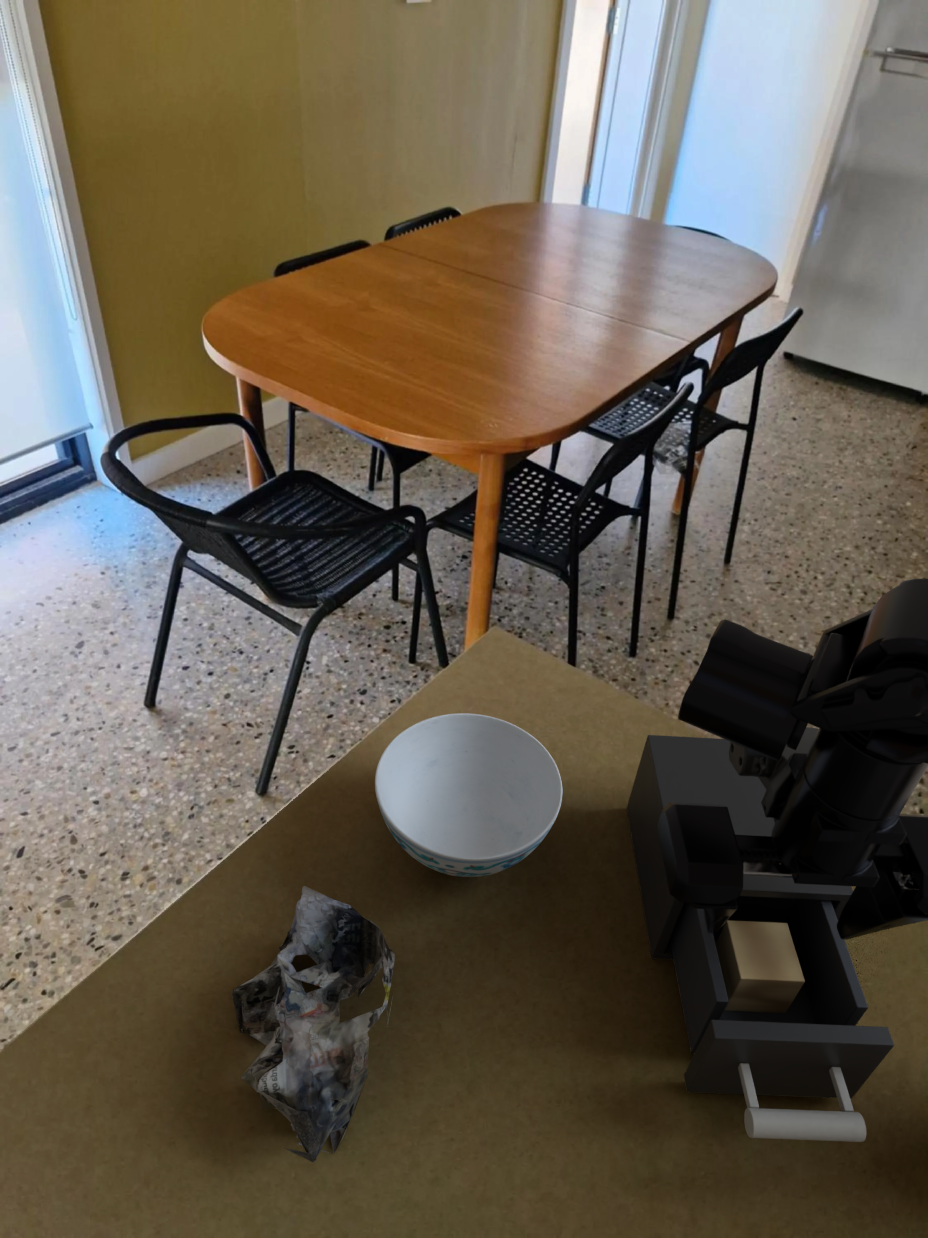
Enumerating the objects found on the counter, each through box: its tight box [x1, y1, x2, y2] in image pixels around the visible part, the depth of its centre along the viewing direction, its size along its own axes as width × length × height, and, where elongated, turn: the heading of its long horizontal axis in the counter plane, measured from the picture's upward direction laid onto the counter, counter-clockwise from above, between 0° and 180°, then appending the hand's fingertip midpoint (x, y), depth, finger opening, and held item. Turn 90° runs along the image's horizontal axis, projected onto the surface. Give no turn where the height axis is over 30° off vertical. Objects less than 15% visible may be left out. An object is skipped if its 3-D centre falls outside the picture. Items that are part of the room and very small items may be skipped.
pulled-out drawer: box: [670, 896, 895, 1143], centre depth 61 cm, size 18×11×8 cm, turn 179°
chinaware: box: [374, 712, 563, 878], centre depth 73 cm, size 15×15×8 cm
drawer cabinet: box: [626, 734, 854, 961], centre depth 71 cm, size 15×13×10 cm
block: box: [716, 920, 805, 1013], centre depth 64 cm, size 4×4×4 cm
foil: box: [231, 885, 396, 1163], centre depth 60 cm, size 12×11×15 cm
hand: (775, 930), depth 61 cm, fingers open, 9 cm apart
